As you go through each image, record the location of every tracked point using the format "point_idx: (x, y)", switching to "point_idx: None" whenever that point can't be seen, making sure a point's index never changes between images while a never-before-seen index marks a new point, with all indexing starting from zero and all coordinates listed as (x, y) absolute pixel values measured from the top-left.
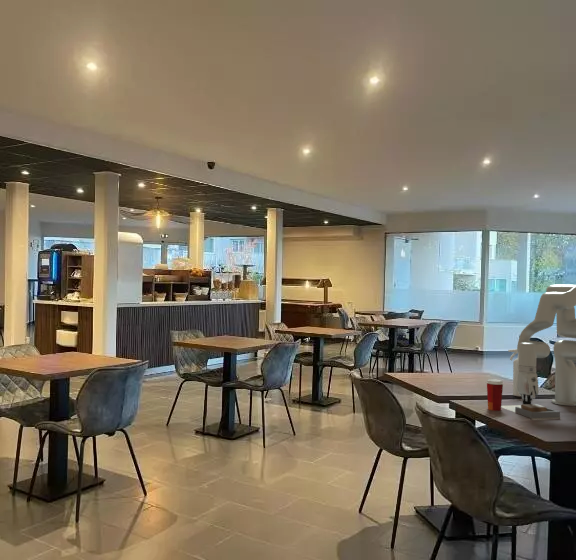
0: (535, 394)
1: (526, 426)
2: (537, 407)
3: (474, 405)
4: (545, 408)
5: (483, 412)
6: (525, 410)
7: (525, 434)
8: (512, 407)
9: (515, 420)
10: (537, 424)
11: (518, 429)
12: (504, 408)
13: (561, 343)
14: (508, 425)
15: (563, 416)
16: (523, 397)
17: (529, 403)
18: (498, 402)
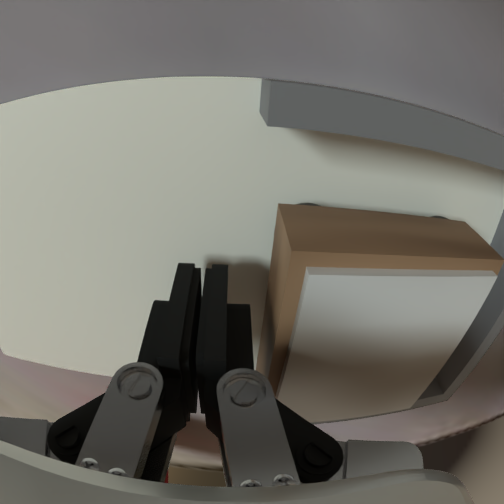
0: (360, 488)
1: (469, 408)
2: (444, 355)
3: (16, 405)
4: (491, 267)
5: (186, 456)
6: (387, 413)
7: (493, 420)
8: (21, 296)
9: (392, 421)
10: (489, 371)
11: (464, 428)
12: (80, 369)
13: None
14: (422, 442)
15: (484, 15)
16: (169, 458)
17: (252, 363)
18: (167, 477)
